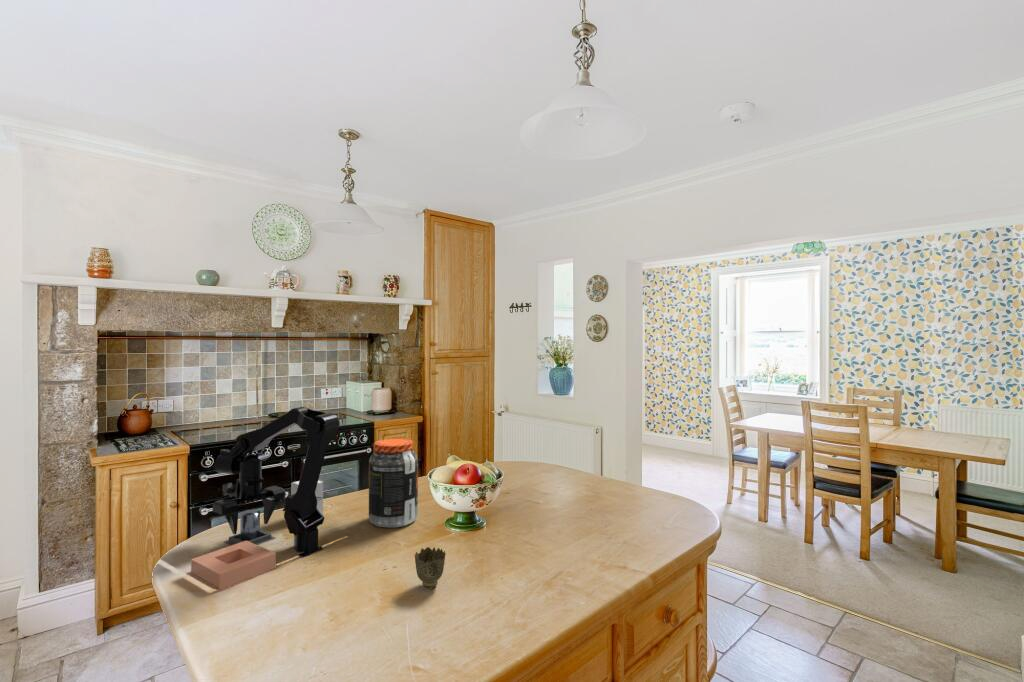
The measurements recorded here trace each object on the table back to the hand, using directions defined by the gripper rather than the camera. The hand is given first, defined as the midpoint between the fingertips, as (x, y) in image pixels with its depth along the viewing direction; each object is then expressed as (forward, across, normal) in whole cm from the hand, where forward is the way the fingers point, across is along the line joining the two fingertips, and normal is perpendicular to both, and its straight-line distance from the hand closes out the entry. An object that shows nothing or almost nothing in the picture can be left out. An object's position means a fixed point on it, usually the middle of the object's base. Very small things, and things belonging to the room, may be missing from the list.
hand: (250, 528), depth 146 cm
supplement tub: (+4, -36, +21) cm, 42 cm away
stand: (+4, 0, 0) cm, 4 cm away
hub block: (+4, +12, +14) cm, 19 cm away
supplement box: (+4, -20, -2) cm, 21 cm away
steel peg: (+3, 0, 0) cm, 3 cm away
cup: (+4, -11, +60) cm, 61 cm away
